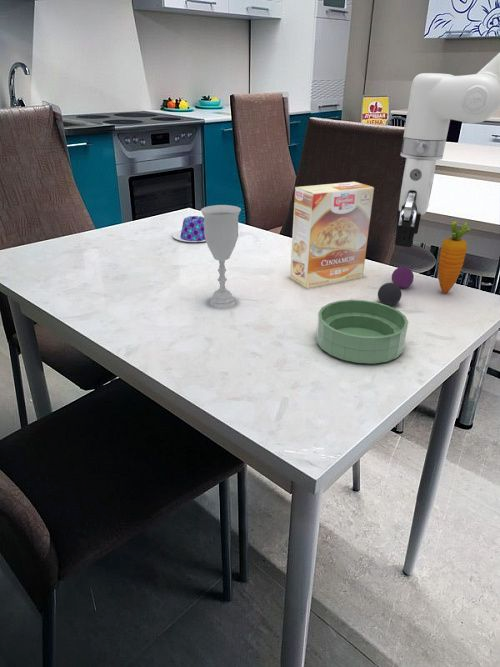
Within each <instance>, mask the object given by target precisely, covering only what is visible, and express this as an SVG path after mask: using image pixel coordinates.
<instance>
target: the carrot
mask: <svg viewBox="0 0 500 667" xmlns="http://www.w3.org/2000/svg"><path fill="white" fill-rule="evenodd" d="M468 224H469V222H467V221H465V222H464V223H462V225H461V228H460V230H458V222H457V221H455V220H454V221H452V222H451V237H447V238H444V239H443V240H442V242H441V247H440V252H439V259H438V284H439V288H440V290H441V292H442V293H443V294H448V293H449V292H450V290H451V289H452V288H453V287H454V285H455V284H456V282H457V281H458V278H459V276H460V274H461V271H462V269H463V266H464V262H465V259H466V258H465V257H466V255H467V254H466V253H467V250H468V243H467V241H466V240H464V239H462V237H463V236H464V235H466V234H467V233H469V232H471V228H470V227H467V226H468Z"/></svg>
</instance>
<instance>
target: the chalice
mask: <svg viewBox="0 0 500 667" xmlns="http://www.w3.org/2000/svg"><path fill="white" fill-rule="evenodd" d="M241 211H242V209H241V207H239V206H236V205H229V204H216V205H208V206H204V207H202V208H201V209H200V212H201V214H202V216H203V218H204V233H205V240H206V241H205V242H206V245H207V248H208V250H209V251H210V253H211V255H212V257H213V260H216V261H218V263H219V266H218V269H217V272H218V273H219V277H218V279H217V282H219V288H218V289H217V290H215V291H214V292H213V294H212V296H211V299H210V301H209V304H210V305H211V306H212V307H214V308H218V309H219V308H220V309H225V308H230V307H233V306H235V304H236V301H235V298H234V296H233V293H231V291H230V290H228V289H227V288H226V282H227V280H228V279H227V277H226V272H227V269H226V265H225V262H226V261H227V260H229V259H230V258H231V256H232V253H233V252H234V250H235V248H236V244H237V241H238V239H239V215H240V213H241Z"/></svg>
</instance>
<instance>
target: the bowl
mask: <svg viewBox="0 0 500 667" xmlns="http://www.w3.org/2000/svg"><path fill="white" fill-rule="evenodd" d="M316 322H317V323H316V334H315V335H316V336H315V337H316V338H315V339H316V344H317V345H318V346H319V347H320V348H321V350H323V351H324V352H326V353H327V354H328V355H330V356H331V357H335V358H337V359H340V360H342V361H347V362H351V363H358V364H380V363H386V362H390V361H392V360H396V359H397V358H398V357H399V356H401V355H402V354H403V353H404V349H405V344H406V339H407V332H408V327H409V320H408V319H407V317H406V315H405V314H404V313H402V312H401V311H400V310H398V309H396V308H395V307H392V306H388V305H385V304H382V303H381V302H377V301H372V300H365V299H343V300H337V301H333V302H329V303H327V304H325V305H323V306H322V307H321V308H320V310H319V311H318V313H317V321H316Z"/></svg>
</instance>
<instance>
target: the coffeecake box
mask: <svg viewBox="0 0 500 667" xmlns="http://www.w3.org/2000/svg"><path fill="white" fill-rule="evenodd" d="M374 192H375V187H374V186H371V185H368V184H365V183H360V182H358V181H347V182H337V183H326V184H315V185H304V186H295V187H294V200H293V201H294V203H293V217H292V218H293V219H292V220H293V221H292V238H291V253H290V254H291V255H290V272H289V273H290V274H289V278H290V279H291V280H292V281H294V282H296V283H298V284H299V285H300V286H302V287H304V288H306V289H312V288H317V287H321V286H326V285H332V284H335V283H336V284H337V283H341V282H346V281H351V280H356V279H361V278H363V277H364V270H365V262H366V254H367V246H368V238H369V231H370V224H371V223H370V222H371V215H372V207H373V200H374Z"/></svg>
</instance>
